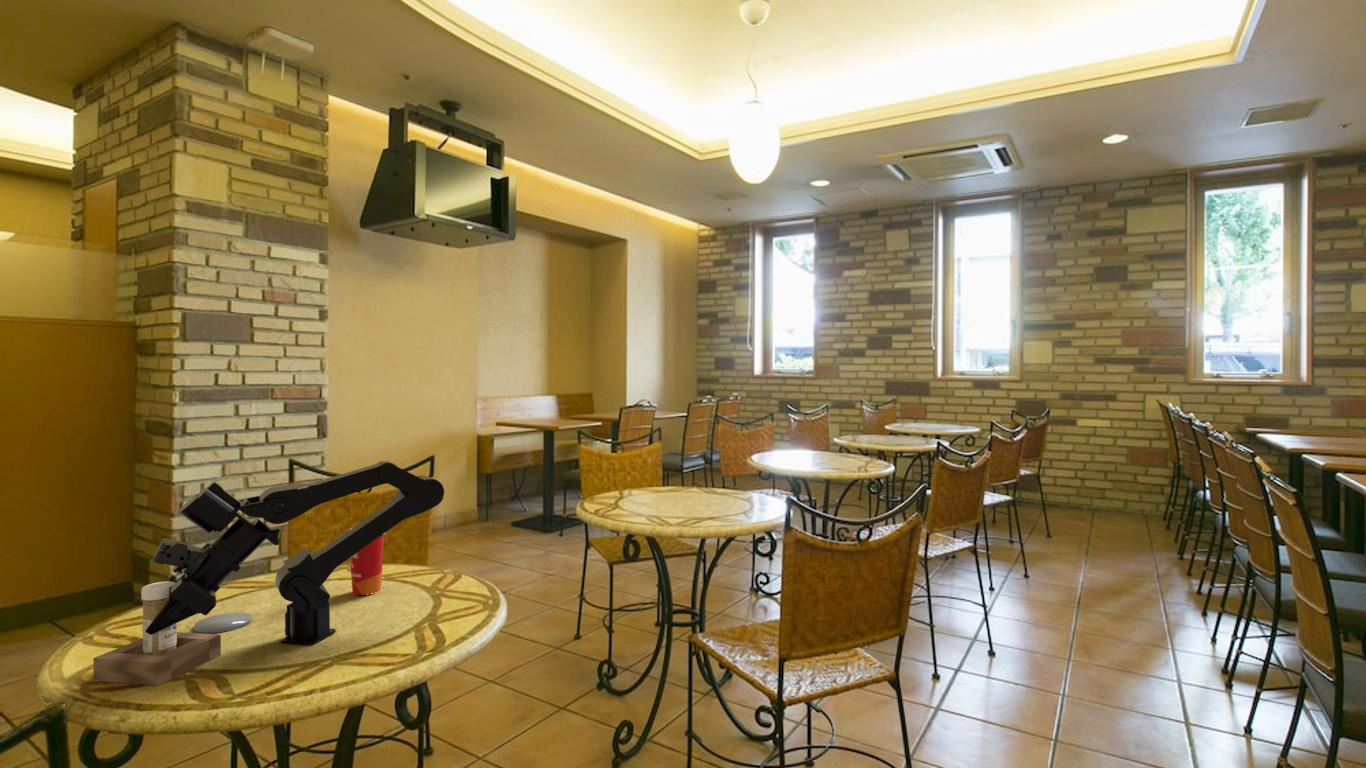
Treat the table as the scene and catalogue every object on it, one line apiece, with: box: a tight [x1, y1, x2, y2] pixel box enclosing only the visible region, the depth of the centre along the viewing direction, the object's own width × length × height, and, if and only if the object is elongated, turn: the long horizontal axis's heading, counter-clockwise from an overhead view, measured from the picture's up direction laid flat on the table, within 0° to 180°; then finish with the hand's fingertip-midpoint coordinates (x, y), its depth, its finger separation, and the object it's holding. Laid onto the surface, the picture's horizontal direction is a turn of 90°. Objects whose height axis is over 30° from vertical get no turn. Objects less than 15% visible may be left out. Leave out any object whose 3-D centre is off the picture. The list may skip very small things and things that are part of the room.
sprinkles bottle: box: [141, 581, 178, 656], centre depth 110 cm, size 5×5×14 cm
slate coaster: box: [193, 611, 252, 634], centre depth 129 cm, size 9×9×1 cm
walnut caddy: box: [92, 631, 222, 687], centre depth 110 cm, size 12×12×4 cm
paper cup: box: [349, 527, 385, 596], centre depth 149 cm, size 8×8×14 cm
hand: (148, 628), depth 109 cm, fingers open, 4 cm apart
